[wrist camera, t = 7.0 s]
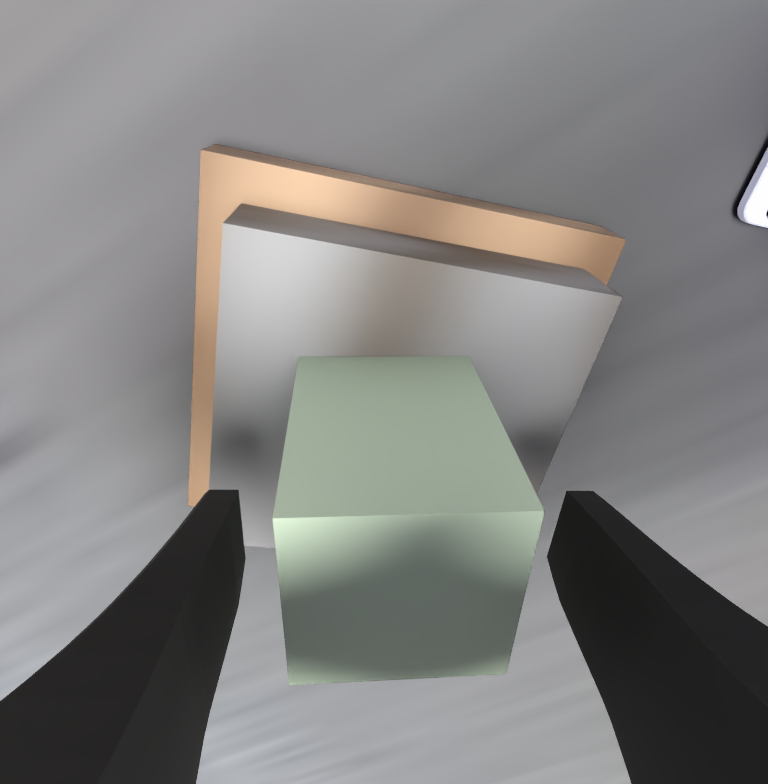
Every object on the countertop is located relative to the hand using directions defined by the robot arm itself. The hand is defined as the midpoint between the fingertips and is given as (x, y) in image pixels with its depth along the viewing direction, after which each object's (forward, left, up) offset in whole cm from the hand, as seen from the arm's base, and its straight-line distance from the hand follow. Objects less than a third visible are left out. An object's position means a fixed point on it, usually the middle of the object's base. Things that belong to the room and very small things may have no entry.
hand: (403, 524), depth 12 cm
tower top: (0, 0, -6) cm, 6 cm away
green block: (0, 0, -4) cm, 4 cm away
